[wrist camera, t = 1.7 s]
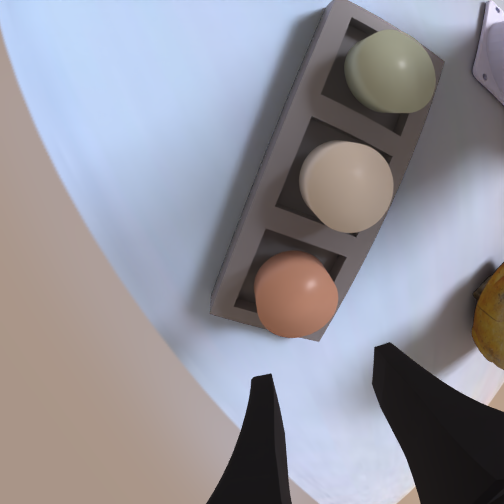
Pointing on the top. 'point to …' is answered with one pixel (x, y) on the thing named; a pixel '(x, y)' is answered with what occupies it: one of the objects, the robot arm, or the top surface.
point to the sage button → (390, 73)
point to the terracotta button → (294, 294)
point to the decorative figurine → (490, 318)
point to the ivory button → (346, 185)
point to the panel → (292, 158)
